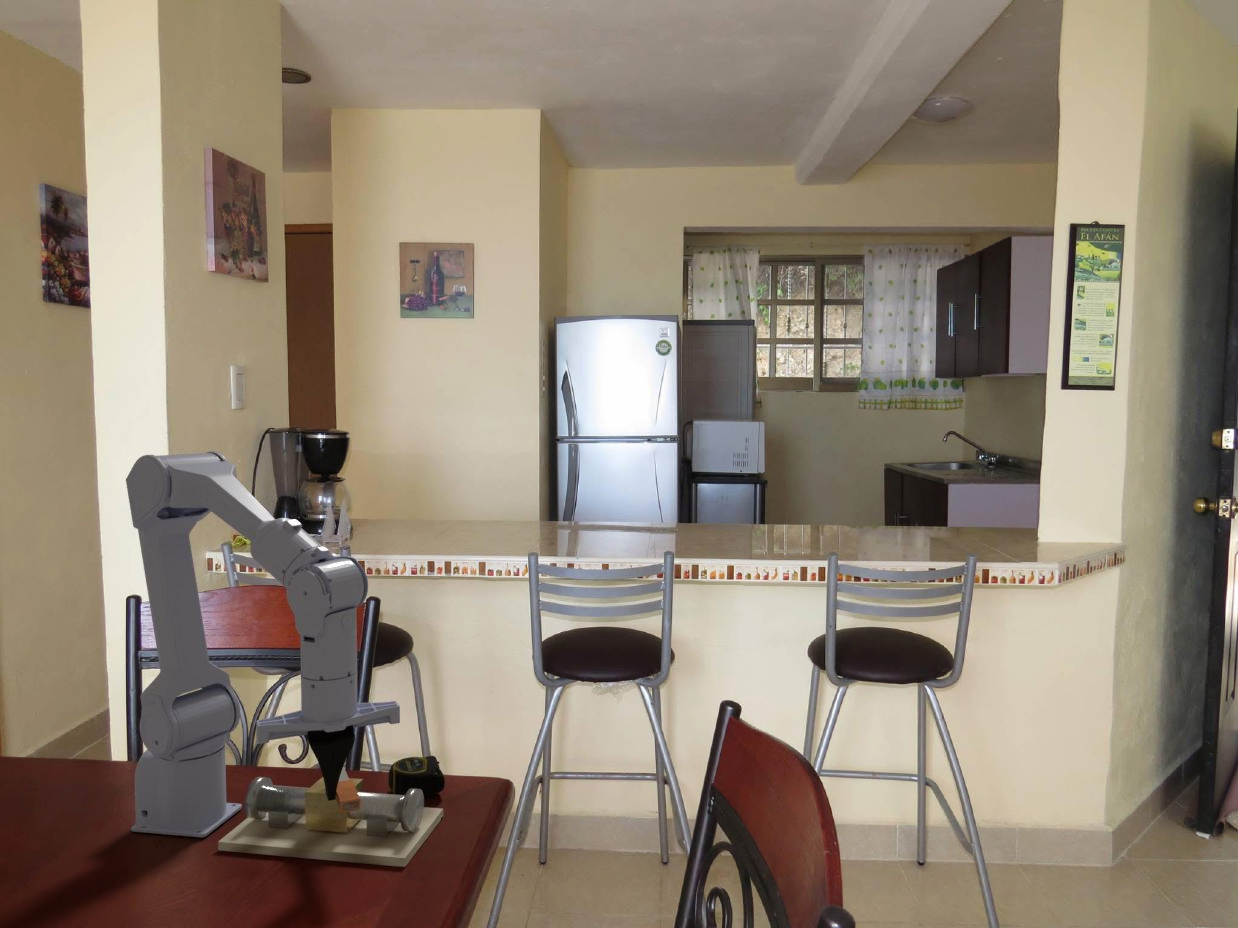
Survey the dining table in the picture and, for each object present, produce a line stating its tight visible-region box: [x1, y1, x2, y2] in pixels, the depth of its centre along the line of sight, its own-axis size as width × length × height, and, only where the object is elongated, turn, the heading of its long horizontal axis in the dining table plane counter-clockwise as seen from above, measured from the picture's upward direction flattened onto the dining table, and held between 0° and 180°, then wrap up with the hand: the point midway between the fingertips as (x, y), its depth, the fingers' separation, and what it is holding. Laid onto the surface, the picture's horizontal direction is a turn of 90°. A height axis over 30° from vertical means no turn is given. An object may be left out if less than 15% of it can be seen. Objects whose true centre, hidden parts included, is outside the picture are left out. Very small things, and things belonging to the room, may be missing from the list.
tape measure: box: [387, 755, 446, 797], centre depth 116 cm, size 7×7×4 cm
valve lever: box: [335, 762, 360, 813], centre depth 100 cm, size 13×2×1 cm, turn 26°
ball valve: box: [243, 776, 425, 838], centre depth 105 cm, size 20×5×6 cm, turn 81°
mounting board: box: [217, 806, 444, 868], centre depth 105 cm, size 22×12×1 cm, turn 81°
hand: (330, 796), depth 97 cm, fingers closed
